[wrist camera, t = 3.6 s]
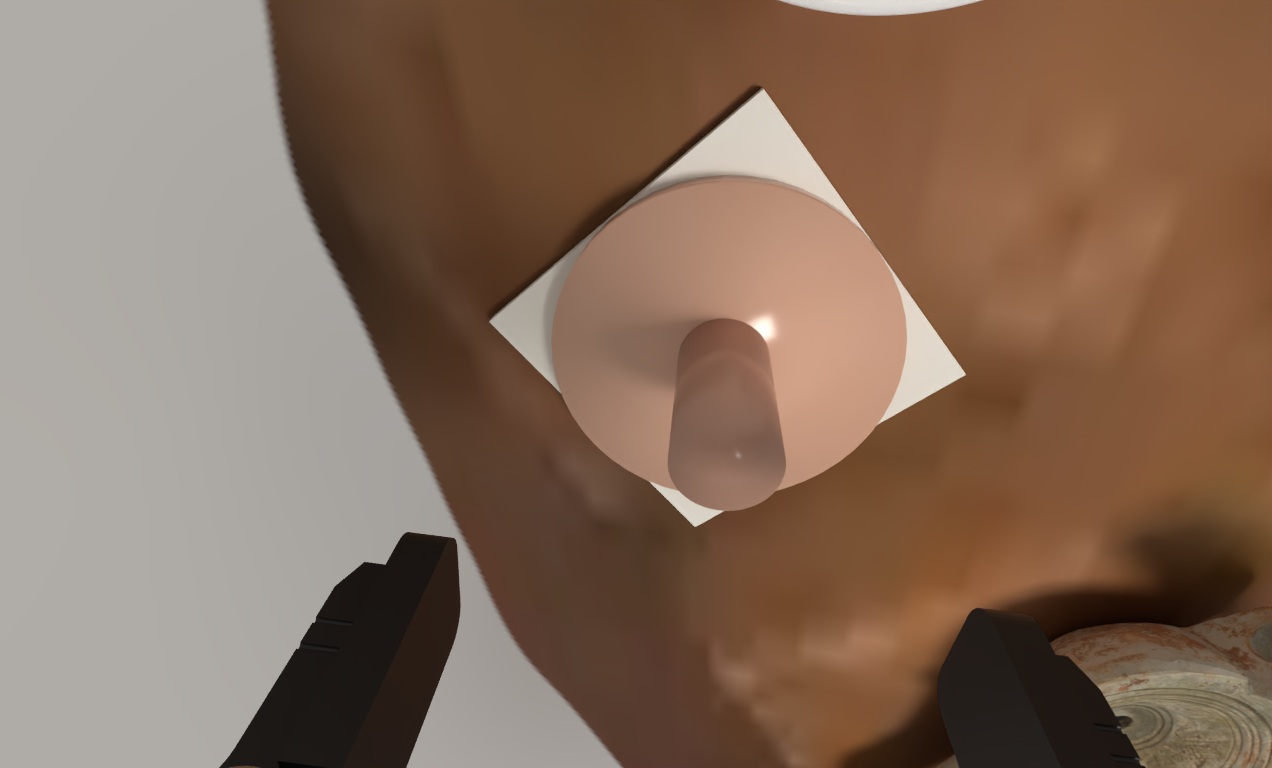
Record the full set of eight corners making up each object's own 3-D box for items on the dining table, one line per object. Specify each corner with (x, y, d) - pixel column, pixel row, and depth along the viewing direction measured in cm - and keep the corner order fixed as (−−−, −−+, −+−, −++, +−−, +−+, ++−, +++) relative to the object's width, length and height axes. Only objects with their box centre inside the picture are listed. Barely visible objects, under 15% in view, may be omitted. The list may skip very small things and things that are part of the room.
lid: (965, 375, 19) (1053, 505, 14) (694, 526, 23) (689, 670, 18) (764, 88, 16) (787, 128, 11) (489, 320, 20) (414, 426, 15)
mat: (961, 367, 20) (965, 374, 19) (695, 519, 24) (695, 527, 23) (762, 87, 16) (763, 89, 16) (492, 316, 20) (489, 322, 20)
